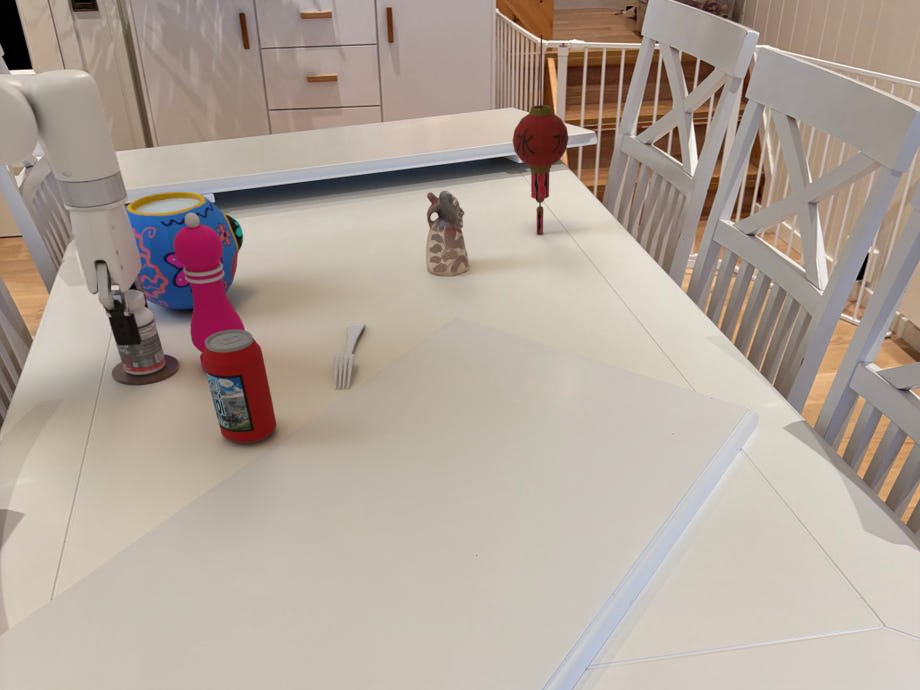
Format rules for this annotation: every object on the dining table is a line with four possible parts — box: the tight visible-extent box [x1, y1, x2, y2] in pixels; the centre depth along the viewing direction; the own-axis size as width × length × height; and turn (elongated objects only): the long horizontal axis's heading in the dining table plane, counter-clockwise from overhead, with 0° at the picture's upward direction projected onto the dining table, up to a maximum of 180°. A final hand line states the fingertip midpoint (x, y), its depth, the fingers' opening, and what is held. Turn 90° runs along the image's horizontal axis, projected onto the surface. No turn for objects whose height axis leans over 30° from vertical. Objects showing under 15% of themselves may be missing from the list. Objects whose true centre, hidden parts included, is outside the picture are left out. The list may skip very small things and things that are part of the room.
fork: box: [333, 323, 366, 391], centre depth 127 cm, size 3×21×3 cm, turn 0°
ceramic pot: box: [125, 191, 244, 310], centre depth 139 cm, size 18×18×15 cm
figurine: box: [425, 190, 470, 277], centre depth 148 cm, size 7×7×12 cm
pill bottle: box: [108, 290, 165, 375], centre depth 123 cm, size 6×6×10 cm
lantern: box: [512, 34, 569, 236], centre depth 153 cm, size 10×10×30 cm
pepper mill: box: [174, 213, 246, 373], centre depth 120 cm, size 7×7×20 cm
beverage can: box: [202, 330, 277, 444], centre depth 108 cm, size 7×7×12 cm
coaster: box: [111, 353, 180, 386], centre depth 126 cm, size 9×9×1 cm
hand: (134, 332), depth 123 cm, fingers closed on pill bottle, 5 cm apart
